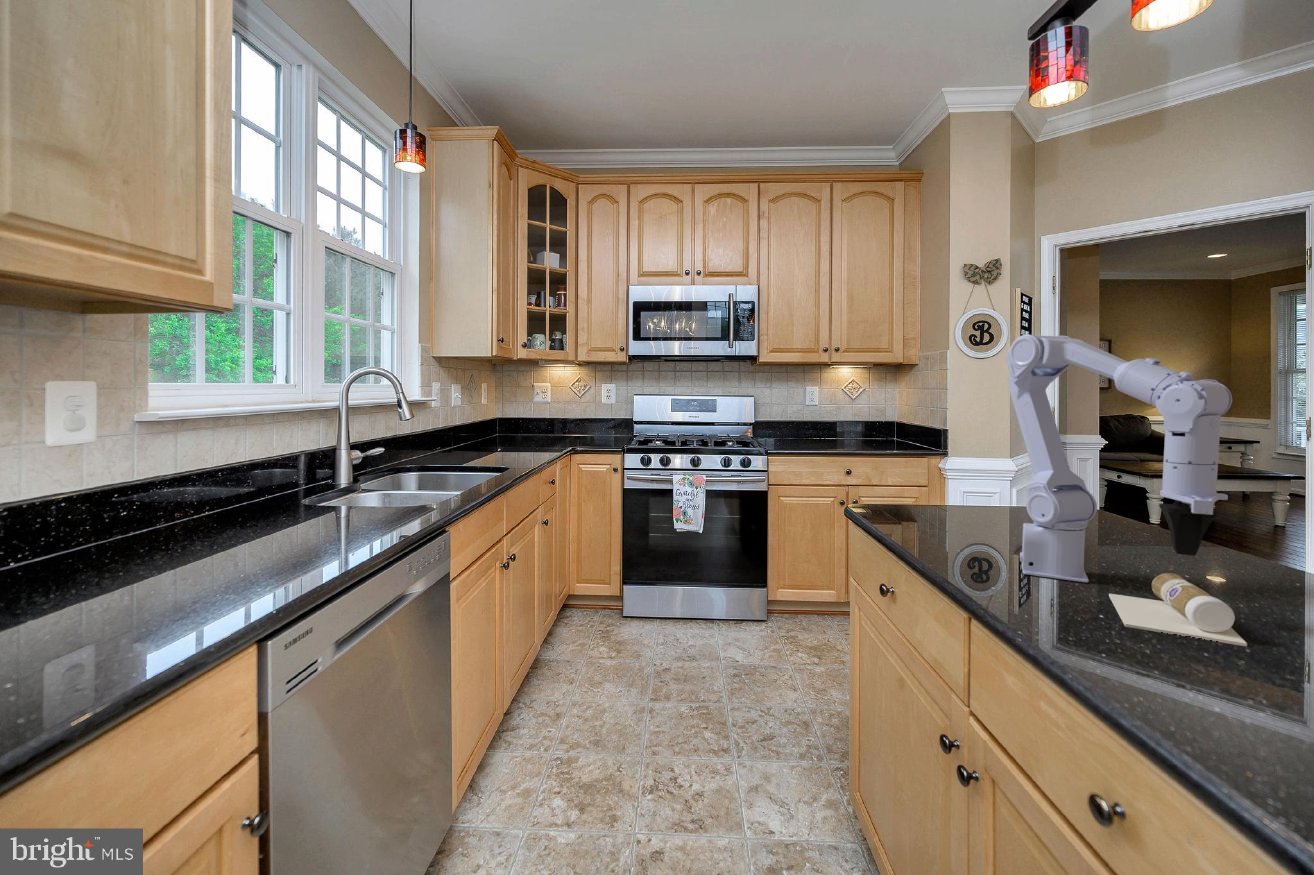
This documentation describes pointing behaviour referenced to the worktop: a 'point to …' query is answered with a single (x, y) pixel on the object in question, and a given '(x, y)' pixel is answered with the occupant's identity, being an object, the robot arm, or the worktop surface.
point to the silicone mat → (1165, 619)
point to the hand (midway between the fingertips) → (1184, 553)
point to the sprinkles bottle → (1193, 603)
